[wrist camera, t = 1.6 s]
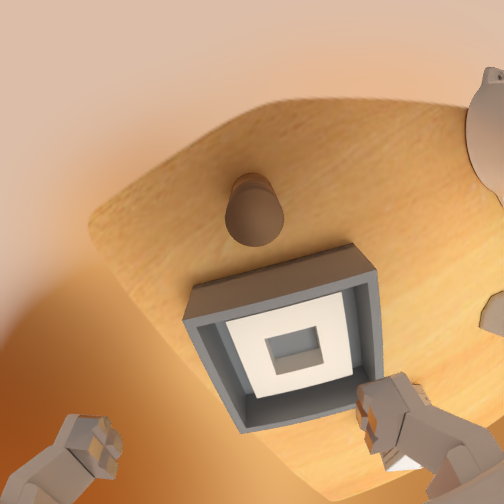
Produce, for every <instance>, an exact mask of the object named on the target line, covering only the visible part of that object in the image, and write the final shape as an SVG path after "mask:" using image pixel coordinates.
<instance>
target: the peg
mask: <svg viewBox="0 0 504 504" xmlns="http://www.w3.org/2000/svg"><path fill="white" fill-rule="evenodd" d="M225 223H226V227H227V230H228V232H229V233H230V235H231V236H232V237H233V238H234V239H235V240H236V241H237V242H239V243H241V244H243V245H246V246H251V247H258V246H263V245H266V244H268V243H270V242H271V241H273V240H274V239H275V238H276V237H277V236H278V235H279V233H280V231H281V229H282V227H283V223H284V214H283V210H282V207H281V205H280V203H279V201H278V199H277V197H276V194H275V192H274V190H273V188H272V186H271V184H270V182H269V181H268V180H267V179H266V178H265V177H264V176H262V175H260V174H257V173H248V174H245V175H243V176H241V177H239V178H238V179H237V181H236V182H235V183H234V185H233V189H232V192H231V196H230V199H229V203H228V206H227V210H226V215H225Z"/></svg>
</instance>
